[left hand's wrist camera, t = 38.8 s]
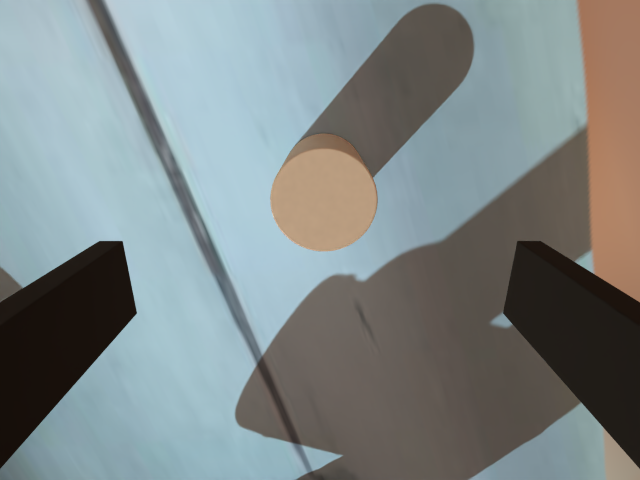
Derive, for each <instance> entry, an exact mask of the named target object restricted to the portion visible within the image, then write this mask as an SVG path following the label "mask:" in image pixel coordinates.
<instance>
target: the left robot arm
mask: <svg viewBox="0 0 640 480" xmlns="http://www.w3.org/2000/svg"><path fill="white" fill-rule="evenodd" d="M136 314H137V312H136V307H135V302H134V296H133V291H132V286H131V281H130V276H129V271H128V266H127V261H126V256H125V251H124V246H123V241H99V242H97V243H96V244H94V245H92V246H91V247H89V248H88V249H86V250H84V251H83V252H81V253H79V254H78V255H76V256H75V257H73V258H71V259H70V260H68V261H67V262H65V263H63V264H62V265H60V266H58V267H57V268H55V269H54V270H52V271H50V272H49V273H47V274H45V275H44V276H42V277H41V278H39V279H37V280H36V281H34V282H33V283H31V284H29V285H28V286H26V287H24V288H23V289H21V290H20V291H18V292H16V293H15V294H13V295H11V296H10V297H8V298H7V299H5V300H3V301H2V302H0V468H1V467H2V466H3V465H4V464H5V463H6V462H7V460H8V459H9V458H10V457H11V456H12V455H13V454H14V452H15V451H16V450H17V449H18V448H19V447H20V446H21V444H22V443H23V442H24V441H25V440H26V439H27V438H28V437H29V435H30V434H31V433H32V432H33V431H34V430H35V429H36V427H37V426H38V425H39V424H40V423H41V422H42V421H43V419H44V418H45V417H46V416H47V415H48V414H49V413H50V411H51V410H52V409H53V408H54V407H55V406H56V405H57V404H58V402H59V401H60V400H61V399H62V398H63V397H64V396H65V394H66V393H67V392H68V391H69V390H70V389H71V388H72V386H73V385H74V384H75V383H76V382H77V381H78V380H79V378H80V377H81V376H82V375H83V374H84V373H85V372H86V371H87V369H88V368H89V367H90V366H91V365H92V364H93V363H94V361H95V360H96V359H97V358H98V357H99V356H100V355H101V353H102V352H103V351H104V350H105V349H106V348H107V347H108V346H109V344H110V343H111V342H112V341H113V340H114V339H115V338H116V336H117V335H118V334H119V333H120V332H121V331H122V330H123V328H124V327H125V326H126V325H127V324H128V323H129V322H130V320H131V319H132V318H133V317H134V316H135V315H136ZM503 314H504V315H505V316H506V317H507V318H508V319H509V320H510V322H511V323H512V324H513V325H514V326H515V327H516V328H517V330H518V331H519V332H520V333H521V334H522V335H523V336H524V338H525V339H526V340H527V341H528V342H529V343H530V344H531V346H532V347H533V348H534V349H535V350H536V351H537V352H538V353H539V355H540V356H541V357H542V358H543V359H544V360H545V361H546V363H547V364H548V365H549V366H550V367H551V368H552V369H553V371H554V372H555V373H556V374H557V375H558V376H559V377H560V378H561V380H562V381H563V382H564V383H565V384H566V385H567V386H568V388H569V389H570V390H571V391H572V392H573V393H574V394H575V396H576V397H577V398H578V399H579V400H580V401H581V402H582V404H583V405H584V406H585V407H586V408H587V409H588V410H589V411H590V413H591V414H592V415H593V416H594V417H595V418H596V419H597V421H598V422H599V423H600V424H601V425H602V426H603V427H604V429H605V430H606V431H607V432H608V433H609V434H610V435H611V437H612V438H613V439H614V440H615V441H616V442H617V443H618V444H619V446H620V447H621V448H622V449H623V450H624V451H625V452H626V454H627V455H628V456H629V457H630V458H631V459H632V460H633V462H634V463H635V464H636V465H637V466H638V467H639V468H640V302H638V301H636V300H635V299H633V298H632V297H630V296H629V295H627V294H625V293H624V292H622V291H620V290H619V289H617V288H616V287H614V286H612V285H611V284H609V283H607V282H606V281H604V280H603V279H601V278H599V277H598V276H596V275H595V274H593V273H591V272H590V271H588V270H586V269H585V268H583V267H582V266H580V265H578V264H577V263H575V262H573V261H572V260H570V259H569V258H567V257H565V256H564V255H562V254H561V253H559V252H557V251H556V250H554V249H552V248H551V247H549V246H548V245H546V244H544V243H543V242H541V241H517V246H516V251H515V256H514V261H513V266H512V271H511V276H510V281H509V286H508V291H507V296H506V302H505V307H504V312H503Z"/></svg>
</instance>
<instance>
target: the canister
mask: <svg viewBox="0 0 640 480" xmlns="http://www.w3.org/2000/svg"><path fill="white" fill-rule="evenodd" d="M270 200H271V209H272V214H273V217H274V219H275V221H276V223H277V225H278V227H279V228H280V230H281V231H282V232H283V233H284V234H285V236H287V237H288V238H289V239H290V240H291V241H293V242H294V243H296V244H298V245H299V246H301V247H304V248H307V249H310V250H315V251H333V250H337V249H341V248H344V247H346V246H348V245H350V244H352V243H354V242H355V241H356V240H358V239H359V238H360V237H361V236H362V235H363V234H364V233H365V232H366V231H367V229H368V228H369V226H370V225H371V223H372V221H373V219H374V216H375V213H376V209H377V190H376V185H375V182H374V180H373V178H372V176H371V174H370V172H369V170H368V169H367V167H366V165H365V164H364V162H363V160H362V159H361V157H360V155H359V154H358V152H357V151H356V149H355V148H354V147H353V146H352V145H351V144H350V143H349V142H348V141H346V140H345V139H343V138H341V137H339V136H336V135H333V134H315V135H311V136H309V137H306V138H305V139H303V140H301V141H300V142H299V143H297V144H296V145H295V146H294V147H293V149H292V150H291V152H290V153H289V155H288V157H287V158H286V160H285V162H284V163H283V165H282V167H281V169H280V170H279V172H278V174H277V176H276V178H275V180H274V182H273V185H272V190H271V198H270Z"/></svg>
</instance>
